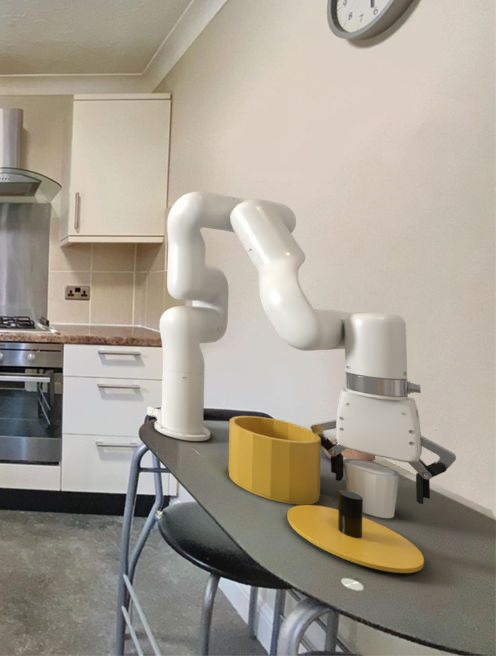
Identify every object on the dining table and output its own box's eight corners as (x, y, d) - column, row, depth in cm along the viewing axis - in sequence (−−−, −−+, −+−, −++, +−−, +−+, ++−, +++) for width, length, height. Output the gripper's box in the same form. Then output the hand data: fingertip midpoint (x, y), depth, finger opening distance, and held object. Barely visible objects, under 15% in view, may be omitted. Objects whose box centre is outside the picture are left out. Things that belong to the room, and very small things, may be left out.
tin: (218, 481, 75) (219, 425, 76) (241, 461, 84) (242, 411, 85) (310, 514, 65) (311, 449, 65) (325, 488, 74) (326, 431, 74)
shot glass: (411, 523, 64) (412, 478, 64) (361, 516, 65) (361, 473, 65) (378, 500, 70) (378, 460, 70) (333, 495, 72) (334, 455, 72)
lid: (276, 535, 59) (277, 489, 59) (298, 502, 69) (299, 463, 69) (423, 596, 48) (423, 539, 48) (424, 546, 58) (425, 499, 58)
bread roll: (334, 450, 92) (312, 445, 89) (353, 432, 90) (331, 425, 87) (367, 480, 85) (344, 475, 83) (389, 460, 83) (366, 454, 81)
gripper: (453, 393, 64) (456, 503, 63) (314, 374, 77) (315, 465, 76) (455, 400, 59) (458, 520, 58) (306, 379, 72) (307, 477, 71)
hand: (377, 489), depth 67 cm, fingers open, 9 cm apart
